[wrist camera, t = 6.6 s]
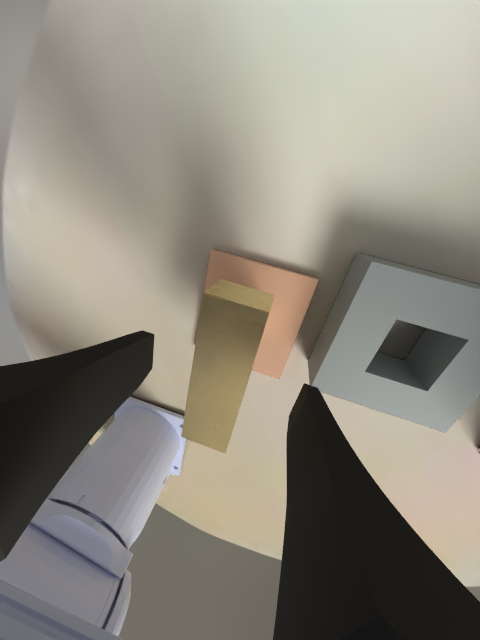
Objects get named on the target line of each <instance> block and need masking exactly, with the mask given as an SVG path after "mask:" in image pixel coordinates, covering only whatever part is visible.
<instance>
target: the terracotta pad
mask: <svg viewBox="0 0 480 640" xmlns="http://www.w3.org/2000/svg"><path fill="white" fill-rule="evenodd" d="M220 279H222V280H226V281H229V282H233V283H236V284H240V285H243V286H247V287H250V288H253V289H257V290H260V291H264V292H267V293H271V294H274V298H273V302H272V305H271V309H270V312H269V316H268V319H267V322H266V325H265V328H264V332H263V335H262V338H261V341H260V344H259V347H258V351H257V354H256V357H255V360H254V363H253V367H252V370H253V371H256V372H259V373H262V374H265V375H268V376H271V377H274V378H278V379H280V377H281V375H282V372H283V370H284V367H285V365H286V362H287V360H288V357H289V354H290V352H291V349H292V347H293V344H294V342H295V339H296V337H297V334H298V332H299V329H300V327H301V324H302V322H303V319H304V316H305V314H306V311H307V309H308V306H309V304H310V301H311V299H312V296H313V294H314V291H315V289H316V286H317V283H318V281H319V279H318V278H316V277H312V276H308V275H305V274H301V273H298V272H294V271H290V270H287V269H283V268H279V267H276V266H272V265H269V264H265V263H261V262H258V261H254V260H251V259H247V258H243V257H240V256H236V255H232V254H229V253H225V252H222V251H218V250H214V249H212V250H210V256H209V263H208V269H207V275H206V282H205V288H204V292H205V291H207V290H208V289H209V288H210V287H212V286H213V285H214V284H215V283H216V282H218V281H219V280H220ZM203 296H204V294H203ZM202 302H203V301H202ZM201 308H202V307H201ZM200 314H201V313H200ZM199 321H200V320H199ZM198 327H199V326H198ZM197 333H198V332H197ZM196 340H197V339H196ZM195 346H196V345H195Z"/></svg>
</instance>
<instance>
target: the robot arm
mask: <svg viewBox="0 0 480 640" xmlns="http://www.w3.org/2000/svg"><path fill="white" fill-rule="evenodd" d="M153 347H154V334H152V333H148V332H145V331H139V332H135V333H132V334H129V335H126V336H122V337H119V338H116V339H113V340H110V341H107V342H104V343H101V344H97V345H94V346H91V347H87V348H84V349H80V350H77V351H73V352H69V353H66V354H62V355H58V356H53V357H49V358H44V359H39V360H35V361H30V362H25V363H18V364H12V365H6V366H0V640H124V639H122V638H120V637H118V635H119V633H120V630H121V627H122V624H123V622H124V619H125V615H126V612H127V609H128V606H129V601H130V596H131V573H130V572H129V571H128V570H126V568H127V566H128V564H129V562H130V560H131V558H132V556H133V553H131V552H130V551H128V550H129V548H130V546H131V545H132V543H133V542H134V541H135V540H136V539H137V537H138V536H139V534H140V533H141V531H142V529H143V527H144V525H145V523H146V521H147V519H148V517H149V515H150V513H151V511H152V509H153V507H154V505H155V503H156V501H157V499H158V497H159V495H160V493H161V491H162V489H163V487H164V485H165V483H166V481H167V479H168V477H169V475H170V474H173V475H176V476H177V475H179V474H180V471H181V466H182V460H183V454H184V449H185V443H186V438H183V437H181V434H182V428H183V421H184V416H182V415H180V414H177V413H174V412H171V411H169V410H166V409H163V408H160V407H158V406H155V405H152V404H149V403H147V402H144V401H141V400H138V399H136V398H133V397H130V396H131V395H132V393H133V392H134V391H135V390H136V389H137V388H138V387H139V386H140V385H141V383H142V382H143V381H144V379H145V378H146V376H147V375H148V374H149V372H150V371H151V369H152V364H153ZM113 414H114V417H115V420H114V421H113V422H112V423H111V424H110V425H109V427H108V428H107V429H106V430H105V431H104V432H103V433H102V434H101V435H100V437H99V438H98V439H97V440H96V441H95V442H94V443H93V444H92V446H91V447H90V448H89V449H88V450H87V451H86V452H85V453H84V454H83V456H82V457H81V458H80V459H79V460H78V461H77V462H76V463H75V464H74V466H73V467H72V468H71V469H70V470H69V471H68V472H67V473H66V475H65V476H64V477H63V478H62V476H63V475H64V474H65V472H66V471H67V470H68V468H69V467H70V465H71V464H72V463H73V462H74V460H75V459H76V458H77V456H78V455H79V454H80V452H81V451H82V450H83V448H84V447H85V446H86V445H87V443H88V442H89V441H90V440H91V438H92V437H93V436H94V435H95V433H96V432H97V431H98V430H99V429H100V428H101V426H102V425H103V424H104V423H105V422H106V421H107V420H108V419H109V418H110V417H111V416H112V415H113ZM61 478H62V479H61ZM60 479H61V480H60ZM59 480H60V481H59ZM56 484H57V485H56ZM273 640H480V602H479V601H478V600H477V599H476V598H475V597H474V596H473V595H472V593H471V592H469V590H468V589H467V588H466V587H465V586H464V585H463V584H462V583H461V582H460V581H459V580H458V579H457V578H456V577H455V576H454V575H453V574H452V572H451V571H450V570H449V569H448V568H447V567H446V566H445V565H444V564H443V563H442V561H441V560H440V559H439V558H438V557H437V556H436V555H435V554H434V553H433V551H432V550H431V549H430V548H429V547H428V546H427V545H426V544H425V543H424V541H423V540H422V539H421V538H420V537H419V536H418V534H417V533H416V532H415V531H414V530H413V529H412V527H411V526H410V525H409V524H408V523H407V521H406V520H405V519H404V518H403V517H402V515H401V514H400V513H399V512H398V510H397V509H396V508H395V507H394V506H393V504H392V503H391V502H390V501H389V499H388V498H387V497H386V495H385V494H384V493H383V492H382V490H381V489H380V488H379V486H378V485H377V484H376V482H375V481H374V479H373V478H372V477H371V475H370V474H369V473H368V471H367V470H366V468H365V467H364V466H363V464H362V463H361V461H360V460H359V458H358V457H357V455H356V454H355V452H354V450H353V449H352V447H351V446H350V444H349V443H348V441H347V439H346V438H345V436H344V434H343V433H342V431H341V429H340V428H339V426H338V424H337V422H336V421H335V419H334V417H333V415H332V413H331V412H330V410H329V408H328V406H327V404H326V402H325V400H324V398H323V396H322V395H321V393H320V391H319V389H318V388H317V387H314V386H311V385H308V384H305V383H304V385H303V387H302V389H301V391H300V393H299V395H298V398H297V400H296V402H295V404H294V406H293V408H292V411H291V413H290V415H289V422H288V430H287V508H286V520H285V532H284V544H283V554H282V565H281V575H280V584H279V593H278V602H277V611H276V620H275V628H274V636H273Z"/></svg>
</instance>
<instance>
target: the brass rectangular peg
mask: <svg viewBox="0 0 480 640" xmlns="http://www.w3.org/2000/svg"><path fill="white" fill-rule="evenodd" d="M273 298H274V294H271V293H267V292H264V291H260V290H257V289H253V288H250V287H247V286H243V285H240V284H236V283H233V282H229V281H226V280H222V279H220V280H219V281H218V282H216V283H215V284H214V285H213V286H212V287H210V288H209V289H208V290H207V291H205V292H204V296H203V302H202V308H201V314H200V321H199V327H198V333H197V340H196V346H195V352H194V358H193V365H192V371H191V377H190V384H189V390H188V396H187V402H186V409H185V415H184V421H183V428H182V434H181V437H183V438H186V439H188V440H191V441H194V442H196V443H199V444H202V445H204V446H207V447H210V448H212V449H215V450H218V451H220V452H223V453H226V450H227V446H228V443H229V440H230V437H231V434H232V431H233V427H234V424H235V421H236V418H237V415H238V411H239V408H240V405H241V402H242V399H243V395H244V392H245V389H246V386H247V383H248V379H249V376H250V373H251V370H252V367H253V363H254V360H255V357H256V354H257V351H258V347H259V344H260V341H261V338H262V335H263V332H264V328H265V325H266V322H267V319H268V316H269V312H270V309H271V305H272V302H273Z"/></svg>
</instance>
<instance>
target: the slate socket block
mask: <svg viewBox="0 0 480 640" xmlns="http://www.w3.org/2000/svg"><path fill="white" fill-rule="evenodd" d="M396 319H397V320H401V321H404V322H408V323H411V324H415V325H418V326H422V327H425V328H426V330H425V331H424V333H423V334H422V336H421V337H420V338H419V340H418V341H417V343H416V344H415V346H414V347H413V349H412V350H411V351H410V353H409V354H408V356H407V357H406V359H405V360H401V359H397V358H394V357H391V356H388V355H384V354H381V353H378V352H377V351H378V349H379V347H380V346H381V344H382V343H383V341H384V339H385V338H386V336H387V334H388V333H389V331H390V329H391V328H392V326H393V324H394V323H395V321H396ZM308 368H309V381H310V385H311V386H314V387H317V388H318V389H319V391H320V392H323V393H326V394H329V395H332V396H335V397H338V398H341V399H344V400H347V401H350V402H353V403H356V404H359V405H362V406H365V407H368V408H371V409H374V410H377V411H380V412H383V413H386V414H389V415H392V416H395V417H398V418H401V419H405V420H408V421H411V422H414V423H417V424H420V425H423V426H426V427H429V428H432V429H435V430H438V431H441V432H444V433H445V432H446V431H447V430H448V429H449V428H450V427H451V426H452V425H453V424H454V423H455V422H456V421H457V420H458V419H459V418H460V417H461V416H462V415H463V414H464V413H465V412H466V411H467V410H468V409H469V408H470V407H471V406H472V405H473V404H474V403H475V401H476V400H477V399H478V398H479V397H480V284H476V283H472V282H468V281H465V280H461V279H457V278H453V277H449V276H445V275H442V274H438V273H434V272H430V271H426V270H422V269H418V268H415V267H411V266H407V265H403V264H399V263H395V262H391V261H388V260H384V259H380V258H376V257H372V256H368V255H365V254H361V253H356V255H355V257H354V259H353V261H352V264H351V266H350V268H349V270H348V273H347V275H346V277H345V279H344V282H343V284H342V286H341V288H340V291H339V293H338V295H337V297H336V299H335V302H334V304H333V306H332V308H331V311H330V313H329V315H328V317H327V320H326V322H325V324H324V326H323V329H322V331H321V333H320V335H319V337H318V340H317V342H316V344H315V346H314V349H313V351H312V353H311V355H310V358H309V360H308Z"/></svg>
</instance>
